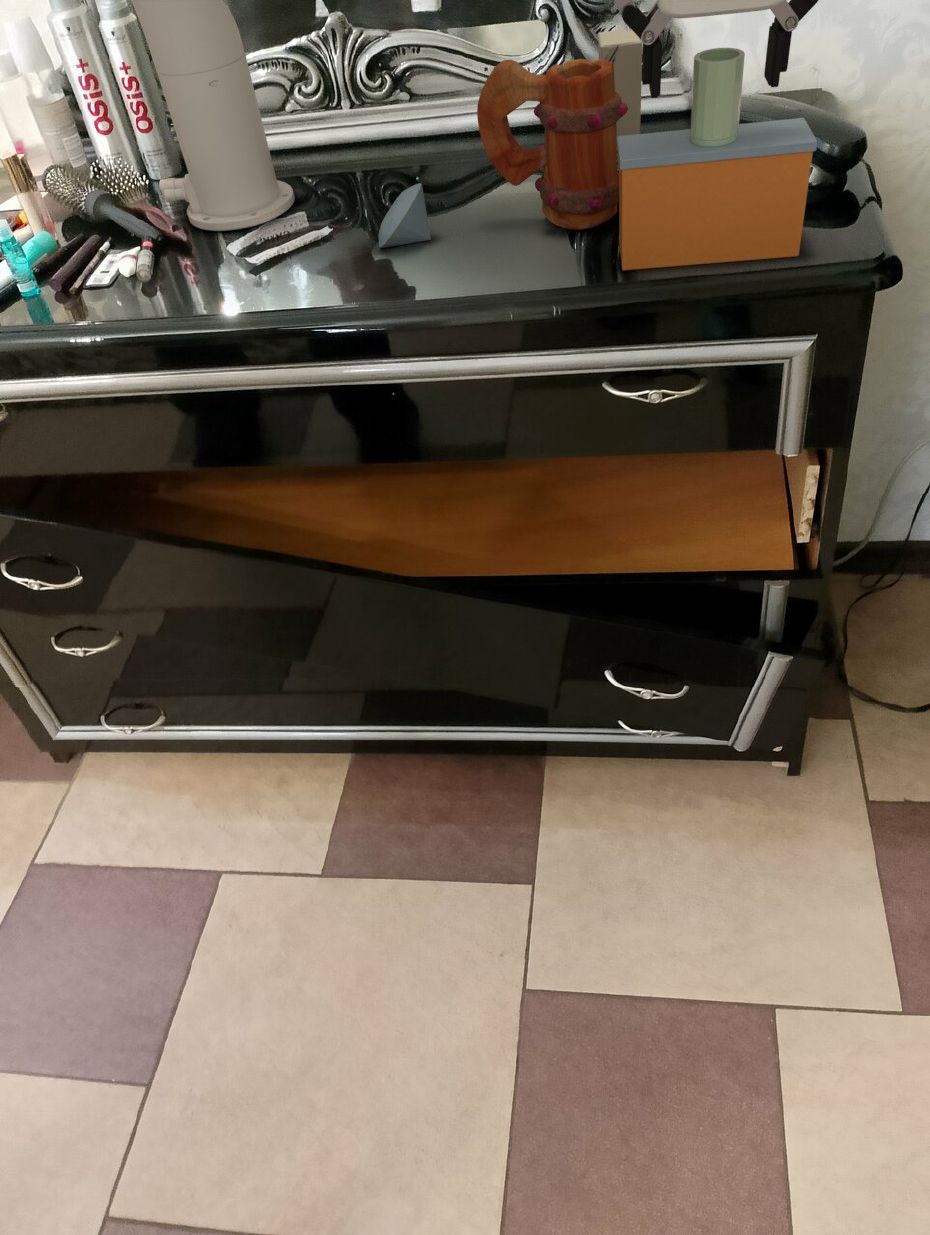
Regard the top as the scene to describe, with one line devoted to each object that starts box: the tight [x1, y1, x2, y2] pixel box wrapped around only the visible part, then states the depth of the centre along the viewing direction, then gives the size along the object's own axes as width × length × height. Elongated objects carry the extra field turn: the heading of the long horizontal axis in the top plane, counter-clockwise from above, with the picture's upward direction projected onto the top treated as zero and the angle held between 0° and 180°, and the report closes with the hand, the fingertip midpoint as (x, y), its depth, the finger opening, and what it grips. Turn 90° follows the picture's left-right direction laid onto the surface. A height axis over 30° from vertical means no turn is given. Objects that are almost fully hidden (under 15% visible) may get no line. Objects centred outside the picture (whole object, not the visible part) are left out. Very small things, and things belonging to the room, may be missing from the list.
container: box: [617, 117, 818, 271], centre depth 85 cm, size 16×6×10 cm, turn 86°
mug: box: [476, 58, 628, 231], centre depth 92 cm, size 15×8×15 cm, turn 74°
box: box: [597, 28, 643, 172], centre depth 102 cm, size 5×4×13 cm
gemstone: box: [377, 182, 432, 249], centre depth 97 cm, size 8×8×5 cm
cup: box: [689, 47, 746, 147], centre depth 79 cm, size 4×4×6 cm
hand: (712, 87), depth 79 cm, fingers open, 9 cm apart
